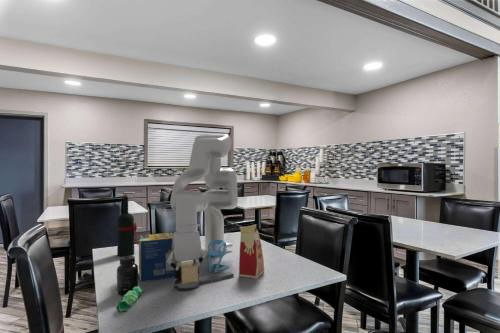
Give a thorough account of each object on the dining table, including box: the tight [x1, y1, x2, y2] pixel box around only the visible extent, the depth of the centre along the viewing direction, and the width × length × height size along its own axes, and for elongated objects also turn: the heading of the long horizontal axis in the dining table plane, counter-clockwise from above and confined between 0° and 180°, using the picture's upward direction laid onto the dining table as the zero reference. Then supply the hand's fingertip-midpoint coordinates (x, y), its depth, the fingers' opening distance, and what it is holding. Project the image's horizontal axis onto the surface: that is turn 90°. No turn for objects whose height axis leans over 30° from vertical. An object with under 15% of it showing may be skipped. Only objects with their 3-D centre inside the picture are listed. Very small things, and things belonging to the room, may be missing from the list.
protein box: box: [138, 231, 176, 283], centre depth 120 cm, size 10×15×16 cm
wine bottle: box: [116, 193, 139, 258], centre depth 148 cm, size 8×10×30 cm
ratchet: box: [173, 271, 235, 292], centre depth 112 cm, size 23×9×6 cm, turn 123°
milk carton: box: [238, 224, 265, 280], centre depth 121 cm, size 9×9×20 cm
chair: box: [206, 240, 230, 274], centre depth 126 cm, size 8×8×12 cm
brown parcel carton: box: [179, 260, 199, 285], centre depth 108 cm, size 6×6×6 cm
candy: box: [115, 285, 144, 313], centre depth 95 cm, size 12×3×4 cm
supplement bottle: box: [116, 255, 139, 297], centre depth 103 cm, size 7×7×12 cm
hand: (186, 277), depth 108 cm, fingers closed on brown parcel carton, 5 cm apart
